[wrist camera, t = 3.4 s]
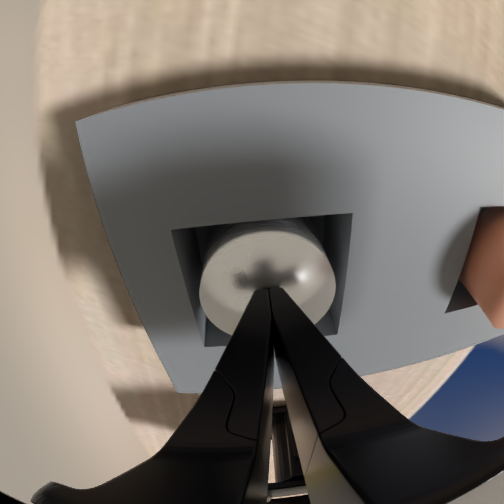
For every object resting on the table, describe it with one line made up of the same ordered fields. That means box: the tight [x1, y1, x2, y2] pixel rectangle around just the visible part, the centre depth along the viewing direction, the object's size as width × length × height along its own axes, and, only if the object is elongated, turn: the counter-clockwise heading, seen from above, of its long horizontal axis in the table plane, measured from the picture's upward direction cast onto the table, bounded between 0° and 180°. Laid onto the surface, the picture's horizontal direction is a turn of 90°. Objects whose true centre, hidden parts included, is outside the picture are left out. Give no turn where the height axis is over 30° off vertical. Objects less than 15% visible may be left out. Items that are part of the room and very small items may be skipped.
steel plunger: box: [199, 216, 336, 335], centre depth 10 cm, size 4×4×3 cm
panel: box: [75, 80, 504, 393], centre depth 11 cm, size 12×19×4 cm, turn 95°
